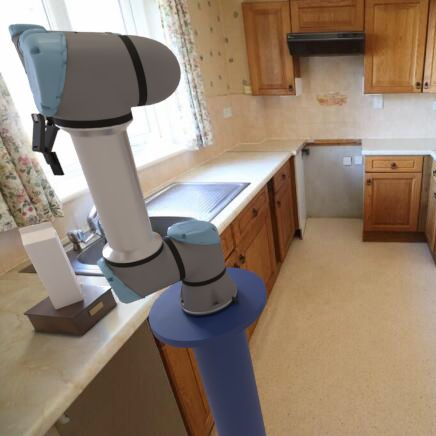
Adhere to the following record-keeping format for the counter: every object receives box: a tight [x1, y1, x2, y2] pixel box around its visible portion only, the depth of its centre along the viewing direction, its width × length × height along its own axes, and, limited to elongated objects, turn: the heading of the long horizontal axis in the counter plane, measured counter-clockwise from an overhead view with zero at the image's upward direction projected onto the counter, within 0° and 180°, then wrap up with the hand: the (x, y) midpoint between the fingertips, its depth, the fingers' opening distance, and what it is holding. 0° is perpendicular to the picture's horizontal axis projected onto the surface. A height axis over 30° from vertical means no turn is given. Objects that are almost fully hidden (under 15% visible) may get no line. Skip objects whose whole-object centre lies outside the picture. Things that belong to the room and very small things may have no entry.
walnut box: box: [23, 283, 118, 337], centre depth 87 cm, size 15×13×6 cm
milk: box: [18, 221, 84, 310], centre depth 81 cm, size 6×6×22 cm
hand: (80, 168), depth 95 cm, fingers open, 13 cm apart
